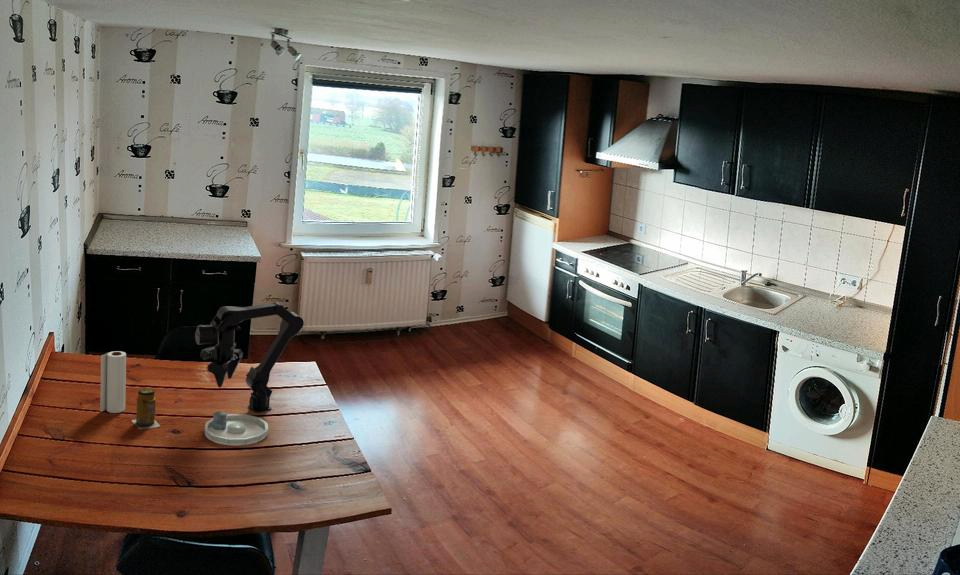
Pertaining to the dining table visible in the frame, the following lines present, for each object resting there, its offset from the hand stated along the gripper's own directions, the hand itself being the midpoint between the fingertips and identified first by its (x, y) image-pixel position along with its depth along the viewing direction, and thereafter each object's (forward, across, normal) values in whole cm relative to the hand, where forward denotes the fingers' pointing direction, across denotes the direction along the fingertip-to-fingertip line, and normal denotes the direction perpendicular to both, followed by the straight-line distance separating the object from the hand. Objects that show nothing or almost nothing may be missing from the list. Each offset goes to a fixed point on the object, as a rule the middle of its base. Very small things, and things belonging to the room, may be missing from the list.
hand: (224, 382), depth 301 cm
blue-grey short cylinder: (+11, +14, +4) cm, 18 cm away
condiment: (+12, +18, -21) cm, 30 cm away
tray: (+12, +14, +10) cm, 21 cm away
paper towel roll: (+12, +11, -36) cm, 39 cm away
